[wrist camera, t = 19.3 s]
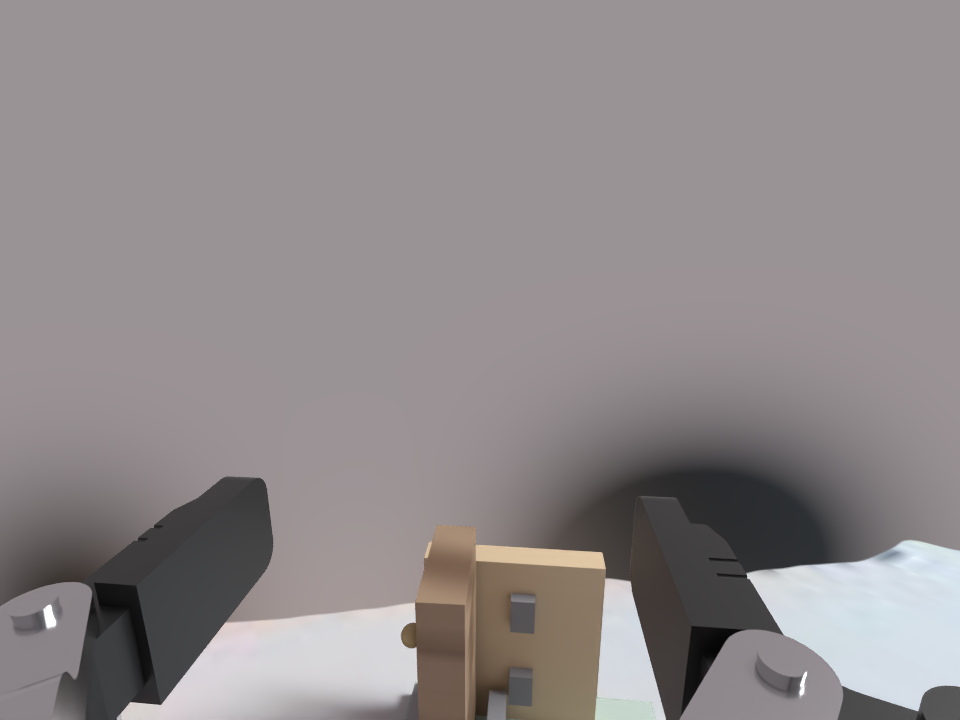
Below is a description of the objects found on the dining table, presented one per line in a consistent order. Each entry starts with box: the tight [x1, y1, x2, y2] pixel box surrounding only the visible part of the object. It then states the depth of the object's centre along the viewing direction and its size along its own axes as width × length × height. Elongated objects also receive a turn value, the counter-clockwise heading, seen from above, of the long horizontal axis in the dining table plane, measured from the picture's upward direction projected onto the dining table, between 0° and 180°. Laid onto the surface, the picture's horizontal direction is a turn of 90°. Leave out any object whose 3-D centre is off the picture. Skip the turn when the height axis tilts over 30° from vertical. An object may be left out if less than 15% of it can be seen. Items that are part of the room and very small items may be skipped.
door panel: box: [401, 525, 476, 720], centre depth 31 cm, size 7×4×16 cm, turn 176°
